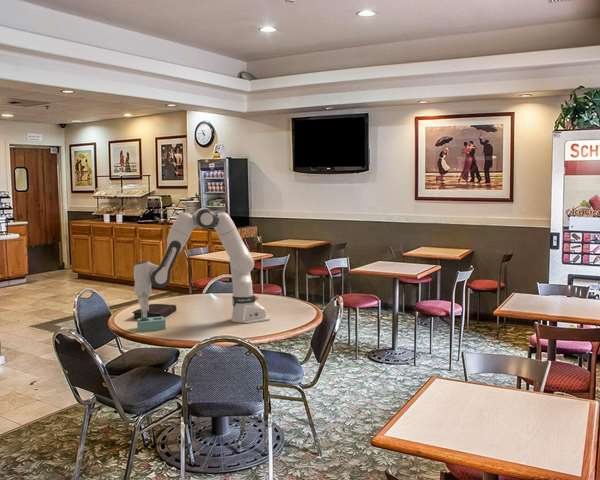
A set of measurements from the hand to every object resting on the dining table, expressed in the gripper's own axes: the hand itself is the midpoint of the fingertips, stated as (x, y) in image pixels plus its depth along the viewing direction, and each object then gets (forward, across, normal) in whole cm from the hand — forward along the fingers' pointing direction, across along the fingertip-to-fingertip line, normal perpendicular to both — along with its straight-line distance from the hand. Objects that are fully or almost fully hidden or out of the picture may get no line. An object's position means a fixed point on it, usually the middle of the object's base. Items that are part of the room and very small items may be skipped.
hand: (144, 316), depth 310 cm
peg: (+6, 0, 0) cm, 6 cm away
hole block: (+7, 0, -3) cm, 8 cm away
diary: (+8, +32, -8) cm, 34 cm away
